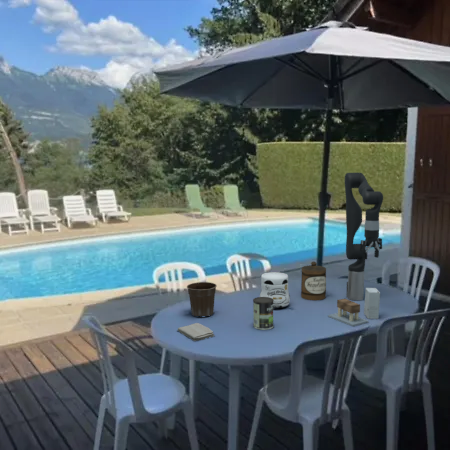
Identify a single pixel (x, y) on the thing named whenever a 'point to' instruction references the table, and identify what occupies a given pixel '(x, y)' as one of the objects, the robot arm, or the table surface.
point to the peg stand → (348, 318)
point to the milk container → (275, 288)
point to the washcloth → (196, 331)
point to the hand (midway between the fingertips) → (370, 258)
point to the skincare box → (372, 303)
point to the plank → (348, 306)
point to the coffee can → (263, 313)
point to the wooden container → (313, 282)
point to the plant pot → (202, 298)
